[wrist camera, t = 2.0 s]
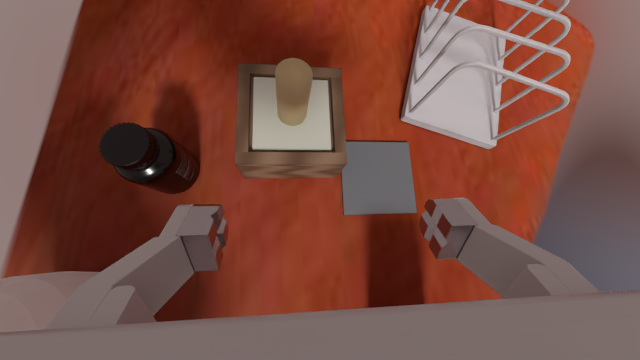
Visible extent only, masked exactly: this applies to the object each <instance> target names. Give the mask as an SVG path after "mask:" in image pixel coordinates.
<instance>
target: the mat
mask: <svg viewBox="0 0 640 360" xmlns="http://www.w3.org/2000/svg"><path fill="white" fill-rule="evenodd" d="M346 152H347V165H346V166H345V167H344V168H343V169H342V170H341V180H342V197H343V214H344V215H361V214H395V213H417V210H416V202H415V194H414V185H413V177H412V169H411V161H410V152H409V144H408V142H346Z"/></svg>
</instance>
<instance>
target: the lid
mask: <svg viewBox="0 0 640 360" xmlns="http://www.w3.org/2000/svg"><path fill="white" fill-rule="evenodd" d="M252 149H253V151H330V150H331V133H330V114H329V94H328V80H313V72H312V69H311V68H310V66H309V65H308V64H307V63H306V62H305V61H303V60H301V59H298V58H288V59H285V60H283V61H281V62H280V63H279V64H278V65H277V67H276V70H275V78H267V77H254V89H253V139H252Z"/></svg>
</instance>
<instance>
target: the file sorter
mask: <svg viewBox="0 0 640 360" xmlns="http://www.w3.org/2000/svg"><path fill="white" fill-rule="evenodd" d="M449 1H450V0H445V2H444V3H443V5H442V6H441V8H440V9H436V8H434V6H435V5H436V3H437V2H438V0H434V2H433V4H432V5H431V6H428V5H427V6H426V7H425V9H424V10H423V12H422V15H421V20H420V25H419V30H418V35H417V40H416V45H415V50H414V55H413V60H412V64H411V69H410V74H409V79H408V84H407V89H406V94H405V99H404V104H403V109H402V114H401V121H404V122H407V123H410V124H413V125H416V126H419V127H422V128H425V129H428V130H431V131H434V132H437V133H441V134H444V135H447V136H450V137H453V138H456V139H459V140H462V141H465V142H468V143H471V144H474V145H477V146H480V147H483V148H486V149H490V148H492V147H494V146H496V144H497V139H499V138H502V137H504V136H506V135H508V134H510V133H512V132H515V131H517V130H519V129H521V128H523V127H525V126H528V125H530V124H532V123H534V122H536V121H538V120H541V119H543V118H545V117H547V116H549V115H551V114H553V113H555V112H557V111H560V110H561V109H563V108H565V107H566V106H567V105H568V103H569V95H568V94H567V93H566V92H565V91H563V90H560V89H558V88H555V87H552V86H549V85H547V84H544V83H545V82H546V81H548V80H549V79H551V78H553V77H554V76H556V75H557V74H559V73H560V72H562V71H563V70H564V69H565V68H566V67H567V66H568V65H569V63H570V55H569V53H567V52H566V51H564V50H562V49H559V48H556V47H553V46H554V45H555V44H557V43H558V42H559V41H560V40H562V39H563V38H564V37H565V36H566V35H567V33H568V32H569V30H570V26H571V23H570V20H569V19H568V18H567V17H566V16H564V15H561V14H558V13H560V12H561V11H562V10H563V9H564V8H565V7H566V6H567V4H568V3H569V1H570V0H564V2H563V4H562V5H561V6H560V7H559V8H558V9H557V10H556V11H555V12H553V11H550V10H547V9H544V8H541V7H538V5H539V4H540V3H541V2H542V1H543V0H538V1H537V2H536V3H535V4H534V5H533V4H530V3H527V2H524V1H521V0H499V1H502V2H505V3H508V4H511V5H514V6H517V7H520V8H523V9H526V10H527V11H526V12H525V13H524V14H523V15H522V16H521V17H520V18H519V19H518V20H517V21H516V22H514V23H513V24H512V25H511V26H510V27H509V28H508V29H507V30H506V31H502V30H499V29H496V28H493V27H490V26H486V25H479V24H477V23H474V22H471V21H469V20H466V19H463V18H461V17H458V16H455V13H456V12H457V11H458V9H459V8H460V7H461V5H462V4H463V3H464V2H465V1H467V0H460V1H459V2H458V3H457V5H456V6H455V7H454V9H453V10H452V12H451V13H447V12H445V11H443V10H444V8H445V7H446V5H447V4H448V2H449ZM530 12H534V13H537V14H540V15H543V16H545V17H548V18H546V19H545V20H544V21H543V22H542V23H540V24H539V25H538V26H537V27H536V28H534V29H533V30H532V31H531V32H530V33H528V34H527V35H526V36H525V37H521V36H518V35H515V34H512V33H509V32H510V31H511V30H512V29H513V28H514V27H515V26H516V25H517V24H518V23H519V22H521V21H522V20H523V19H524V18H525V17H526V16H527V15H528V14H529V13H530ZM551 19H554V20H557V21H559V22H561V23H563V24H564V30H563V32H562V33H561V34H560V35H559V36H558V37H557V38H556V39H554V40H553V41H551V42H550V43H549V44H548V45H546V44H543V43H540V42H537V41H534V40H531V39H528V38H529V37H531V36H532V35H533V34H534V33H536V32H537V31H538V30H539V29H540V28H542V27H543V26H544V25H545V24H546V23H548V22H549V21H550V20H551ZM506 39H508V40H511V41H514V42H518V43H517V44H515V45H514V46H513V47H512V48H511V49H510V50H508V51H507V52H506V53H505V54H504V52H505V40H506ZM521 44H524V45H527V46H530V47H533V48H536V49H539V50H540V51H539V52H537V53H536V54H535V55H533V56H532V57H531V58H529V59H528V60H527V61H526V62H524V63H523V64H522V65H520V66H519V67H518V68H517V69H515V70H514V71H512V72H511V71H508V70H505V69H503V63H504V58H505V57H506V56H508V55H509V54H510V53H511V52H512V51H514V50H515V49H516V48H517V47H519V46H520V45H521ZM544 52H549V53H552V54H555V55H558V56H560V57H562V58H563V59H564V62H563V64H562V65H561V66H560V67H559V68H558V69H556V70H554V71H553V72H552V73H550V74H549V75H547V76H546V77H544V78H542V79H541V80H539V81H535V80H533V79H530V78H527V77H524V76H522V75H519V74H516V73H517V72H518V71H520V70H521V69H523V68H524V67H525V66H527V65H528V64H529V63H531V62H532V61H533V60H535V59H536V58H538V57H539V56H540V55H541V54H543V53H544ZM502 76H505V77H504V78H503V79H502ZM509 78H510V79H513V80H516V81H518V82H521V83H524V84H527V85H530V87H529V88H527V89H525V90H524V91H522V92H521V93H519V94H518V95H516V96H515V97H513V98H512V99H510V100H508V101H507V102H505V103H504V104H502V105H501V106H500V97H501V85H502V83H503V82H505V81H506V80H507V79H509ZM535 88H538V89H541V90H544V91H546V92H549V93H552V94H555V95H557V96H560V97H561V98H562V99H563V102H562V103H561V104H559V105H558V106H556V107H554V108H552V109H550V110H548V111H546V112H544V113H542V114H540V115H538V116H536V117H534V118H532V119H530V120H528V121H526V122H524V123H522V124H520V125H518V126H515V127H513V128H511V129H509V130H507V131H505V132H503V133H501V134H499V135H497V133H498V120H499V111H500V110H501V109H503V108H504V107H506V106H508V105H509V104H511V103H512V102H514V101H516V100H517V99H519V98H520V97H522V96H524V95H525V94H527V93H528V92H530V91H532V90H533V89H535Z"/></svg>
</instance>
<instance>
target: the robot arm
mask: <svg viewBox="0 0 640 360" xmlns="http://www.w3.org/2000/svg"><path fill="white" fill-rule="evenodd" d="M425 209H426V212H424V213H423V214H422V215H421V218H420V221H419V222H420V230H421V233H422V235H423V237H424V238H426V239H427V240H429V241H430V242H429V247H430V249H431V251H432V253H433V254H434V256H435V258H436V259H457V260H458V261H459V262H460V263H461V264H463V265H464V266H465V267H466V268H468V269H469V270H470V271H471V272H473V273H474V274H475V275H476V276H478V277H479V278H480V279H481V280H482V281H484V282H485V283H486V284H487V285H489V286H490V287H491V288H492V289H494V290H495V291H496V292H497V293H498V294H500V295H501V296H502V297H501V298H500V299H492V300H477V301H462V302H448V303H433V304H419V305H404V306H389V307H375V308H360V309H344V310H329V311H314V312H299V313H284V314H269V315H254V316H239V317H225V318H210V319H195V320H180V321H165V322H157V321H156V320H155V318H154V317H153V316H154V315H155V314H156V313H157V312H158V310H159V309H160V308H161V307H162V306H163V305H164V304H165V303H166V302H167V301H168V300H169V299H170V298H171V297H172V296H173V295H174V294H175V293H176V292H177V291H178V290H179V288H180V287H181V286H182V285H183V284H184V283H185V282H186V281H187V280H188V279H189V278H190V277H191V276H192V275H193V274H194V272H196V271H209V270H219V267H220V264H221V260H222V257H223V253H222V248H223V247H224V246H225V245H226V242H227V238H228V225H227V221H226V220H225V219H223V216H224V213H225V212H224V209H223V206H222V205H221V204H194V205H179V206H177V207H176V208H175V210H174V212H173V214H172V215H171V217H170V219H169V220H168V222H167V224H166V225H165V227H164V229H163V230H162V232H161V234H160V235H159V237H154V238H152V239H151V240H149V241H148V242H146V243H144V244H143V245H141V246H140V247H138V248H137V249H135V250H134V251H132V252H131V253H129V254H128V255H126V256H125V257H123V258H121V259H120V260H118V261H117V262H115V263H114V264H112V265H111V266H109V267H108V268H106V269H105V270H103V271H101V272H100V273H98V274H97V275H95V276H94V277H92V278H91V279H89V280H88V281H86V282H85V283H83V284H81V285H80V286H78V287H77V289H76V290H75V291H74V292H73V294H72V295H71V296H70V298H69V299H68V300H67V301H66V303H65V304H64V305H63V307H62V308H61V309H60V310H59V312H58V313H57V314H56V316H55V317H54V318H53V319H52V321H51V322H50V323H49V325H48V326H47V327H46V328H45V330H30V331H15V332H0V360H640V290H627V291H612V292H599V291H598V290H597V289H596V288H595V287H594V286H593V285H592V284H591V283H590V282H589V281H588V280H586V279H585V278H584V277H583V276H582V275H581V274H580V273H579V272H578V271H577V270H576V269H574V267H572V266H571V265H570V264H569V263H568V262H567V261H565V260H563V259H561V258H559V257H557V256H555V255H553V254H551V253H549V252H548V251H546V250H544V249H541V248H540V247H538V246H536V245H534V244H532V243H530V242H528V241H526V240H524V239H522V238H520V237H518V236H516V235H514V234H512V233H510V232H508V231H506V230H504V229H503V228H501V227H499V226H497V225H491V224H490V223H489V221H488V220H487V219H486V218H485V217H484V216H483V215H482V214H481V213H480V212H479V211H478V210H477V208H476V207H475V206H474V205H473V204H472V203H471V202H470V201H469V200H468V199H466V198H452V199H429V200H428V201H427V202H426V204H425Z"/></svg>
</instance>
